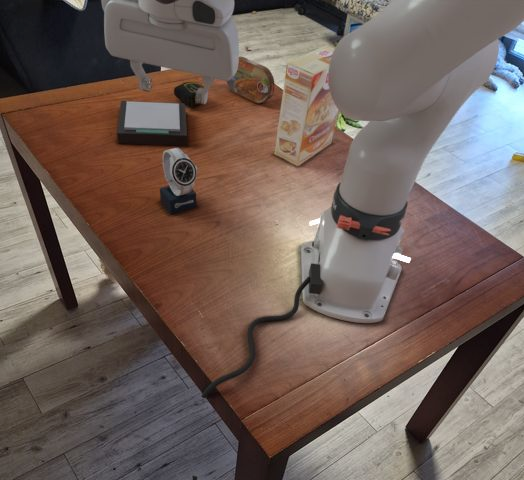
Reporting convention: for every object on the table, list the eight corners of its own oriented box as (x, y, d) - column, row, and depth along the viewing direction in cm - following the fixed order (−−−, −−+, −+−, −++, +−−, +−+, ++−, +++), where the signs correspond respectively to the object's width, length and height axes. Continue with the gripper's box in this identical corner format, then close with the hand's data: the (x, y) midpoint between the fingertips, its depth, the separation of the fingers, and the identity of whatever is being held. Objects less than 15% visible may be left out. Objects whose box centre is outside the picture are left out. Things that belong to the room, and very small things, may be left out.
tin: (223, 87, 126) (224, 52, 119) (231, 84, 127) (233, 49, 121) (266, 109, 121) (270, 74, 114) (274, 105, 122) (278, 70, 116)
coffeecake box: (298, 167, 105) (314, 74, 90) (272, 154, 107) (284, 61, 92) (332, 143, 113) (353, 54, 98) (308, 132, 115) (325, 43, 100)
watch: (175, 220, 89) (173, 167, 81) (156, 197, 93) (152, 144, 84) (201, 212, 92) (201, 160, 83) (182, 190, 95) (180, 138, 87)
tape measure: (173, 99, 118) (172, 84, 116) (195, 93, 122) (195, 78, 119) (188, 111, 116) (188, 95, 113) (210, 105, 119) (211, 89, 116)
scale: (187, 145, 106) (186, 132, 103) (118, 143, 103) (116, 130, 101) (185, 113, 115) (185, 100, 112) (122, 110, 112) (120, 97, 110)
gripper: (88, -16, 64) (104, 90, 75) (234, 15, 63) (228, 118, 74) (108, -28, 68) (120, 74, 78) (245, 1, 67) (238, 100, 78)
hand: (173, 95), depth 76 cm, fingers open, 8 cm apart
